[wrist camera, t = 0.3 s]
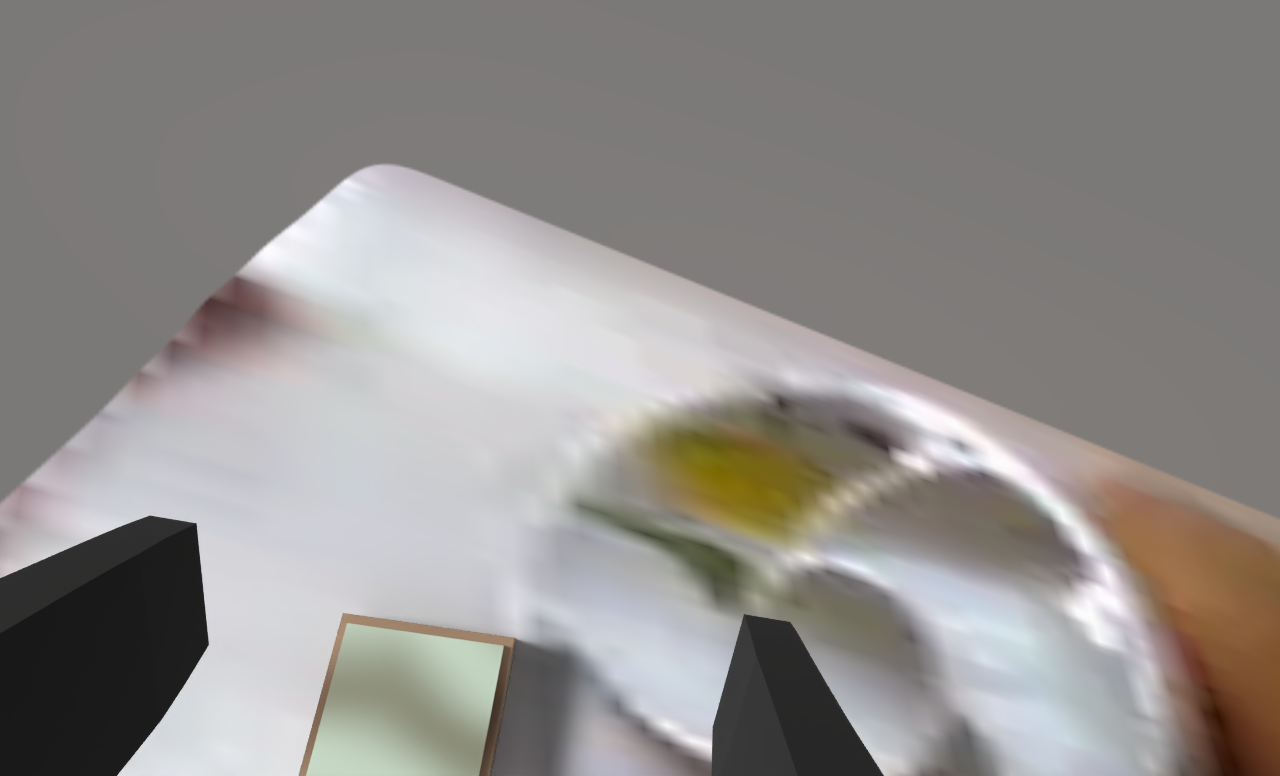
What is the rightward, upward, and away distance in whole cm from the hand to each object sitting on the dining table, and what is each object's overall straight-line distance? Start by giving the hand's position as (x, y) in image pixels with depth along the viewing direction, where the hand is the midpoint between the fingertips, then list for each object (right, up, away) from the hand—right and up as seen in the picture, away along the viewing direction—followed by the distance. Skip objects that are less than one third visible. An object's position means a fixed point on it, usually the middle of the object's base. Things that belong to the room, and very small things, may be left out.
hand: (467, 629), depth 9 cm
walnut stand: (-9, -13, +26) cm, 30 cm away
